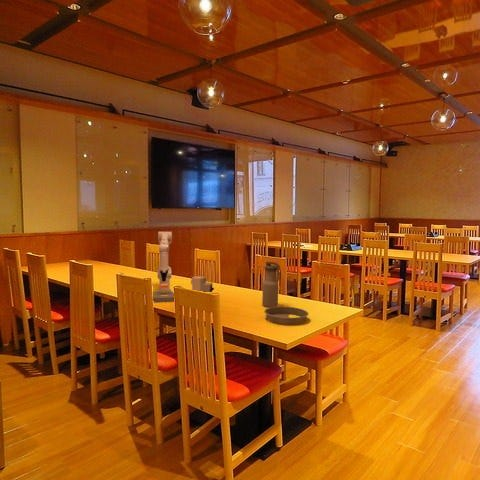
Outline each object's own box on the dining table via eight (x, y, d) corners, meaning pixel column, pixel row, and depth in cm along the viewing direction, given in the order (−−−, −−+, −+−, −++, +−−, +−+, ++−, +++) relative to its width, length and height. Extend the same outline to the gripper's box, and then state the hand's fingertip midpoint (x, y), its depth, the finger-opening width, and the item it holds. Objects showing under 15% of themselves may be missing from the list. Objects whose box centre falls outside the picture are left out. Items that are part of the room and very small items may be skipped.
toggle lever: (160, 292, 267) (160, 283, 264) (167, 292, 268) (167, 283, 265) (160, 294, 266) (160, 285, 262) (167, 294, 267) (168, 285, 263)
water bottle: (279, 304, 255) (280, 261, 253) (276, 308, 246) (278, 263, 244) (264, 303, 258) (265, 260, 256) (260, 307, 249) (261, 262, 246)
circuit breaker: (211, 301, 260) (212, 279, 258) (190, 300, 262) (191, 277, 261) (214, 299, 267) (215, 277, 266) (194, 298, 270) (194, 276, 268)
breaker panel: (150, 296, 272) (150, 288, 271) (177, 295, 276) (177, 287, 275) (150, 302, 254) (150, 294, 254) (178, 301, 258) (178, 293, 258)
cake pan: (292, 329, 206) (292, 320, 205) (255, 319, 221) (255, 311, 221) (316, 319, 224) (316, 311, 224) (280, 311, 240) (280, 304, 240)
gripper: (157, 260, 277) (157, 279, 278) (158, 263, 263) (158, 283, 264) (168, 260, 279) (167, 279, 280) (169, 262, 264) (168, 283, 266)
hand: (163, 281), depth 272 cm, fingers closed
